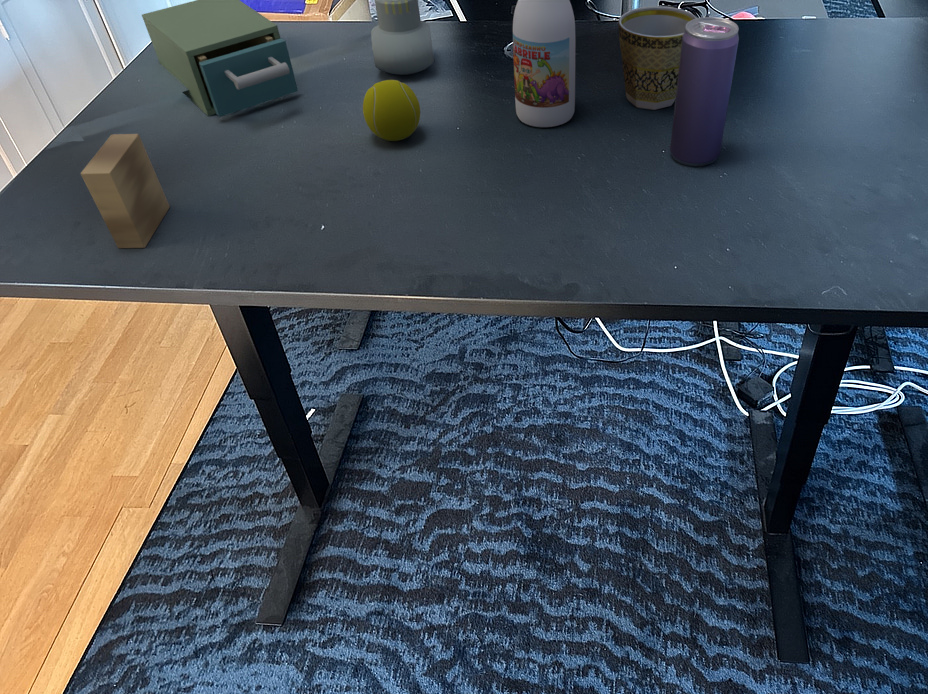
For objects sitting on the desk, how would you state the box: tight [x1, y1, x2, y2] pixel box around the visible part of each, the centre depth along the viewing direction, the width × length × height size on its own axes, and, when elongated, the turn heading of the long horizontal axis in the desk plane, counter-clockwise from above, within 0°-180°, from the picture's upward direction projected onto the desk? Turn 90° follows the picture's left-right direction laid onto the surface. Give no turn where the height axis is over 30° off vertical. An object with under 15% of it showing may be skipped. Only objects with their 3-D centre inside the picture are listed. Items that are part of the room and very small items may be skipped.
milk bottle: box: [512, 0, 576, 128], centre depth 94 cm, size 8×8×20 cm
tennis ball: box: [362, 79, 421, 142], centre depth 96 cm, size 7×7×7 cm
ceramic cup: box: [617, 5, 698, 111], centre depth 101 cm, size 13×10×10 cm
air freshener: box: [370, 0, 435, 76], centre depth 109 cm, size 11×8×10 cm
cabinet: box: [141, 0, 281, 117], centre depth 108 cm, size 17×13×9 cm
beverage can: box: [669, 16, 740, 167], centre depth 88 cm, size 6×6×15 cm
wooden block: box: [80, 133, 170, 249], centre depth 82 cm, size 8×3×9 cm, turn 179°
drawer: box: [194, 34, 299, 118], centre depth 104 cm, size 20×11×7 cm, turn 38°
